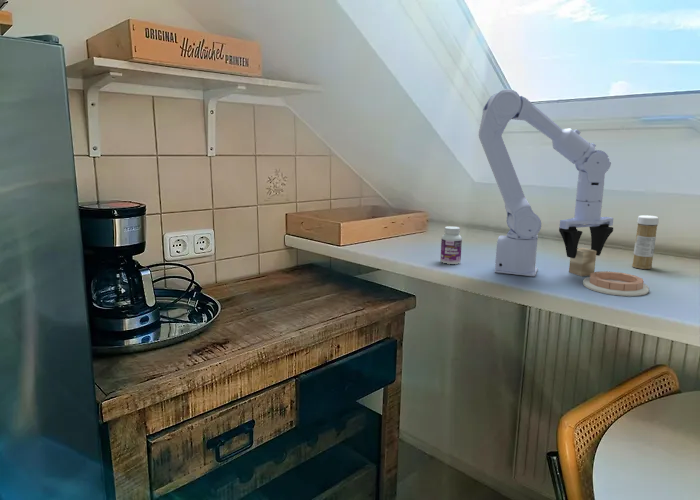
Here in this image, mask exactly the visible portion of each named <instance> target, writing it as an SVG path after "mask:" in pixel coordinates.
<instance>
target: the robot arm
mask: <svg viewBox="0 0 700 500" xmlns="http://www.w3.org/2000/svg"><path fill="white" fill-rule="evenodd" d="M511 120H516V121H525V122H527V124H529V125H530V126H532V127H533V128H535V129H536V130H537V131H539V132H540V133H542V134H543V135H544V136H546V137H547V138H549V139H550V140H551V143H552V148H553V149H554V150H555V151H556V152H558V154H560V155H561V156H563V157H564V158H565V159H567V160H568V161H569V162H570V163H572V164H573V165H574V166H575V169H576V171H578V178H577V185H576V194H575V195H576V197H575V207H574V216H573V217H572V218H565V219H560V220H559V228H558V231H559V234H560V236H561V238H562V240H563V244H564V247H565V253H566V256H567V258H569V259H570V258H575V257H576V254H577V248H579V247H578V245H579V242H580V239H581V237H582V235H583V231H581V230H578V228H589V232H590V240H591V242H590V243H591V244H590V249H591V250H595V251H597V252H596V257H599V256H601V254H602V251H603V248H604V246H605V244H606V242H607V240H608V238H609V236H611V235H612V233H613V232H614V227H612V226H613V225H614V217H610V216H602V207H603V206H602V205H603V199H604V198H603V197H604V189H605V187H604V186H605V176H606V173H607V172H608V171H609V169H610V168H611V165H612V162H611V161H610V158H609V155H608V153H606V152H605V151H604V150H600V149H596V147H597V144H595V143H594V142H591V143H590V142H589V141H588V140H587V139H585V138H584V137H583V136H582V135H580V134H581V132H582V131H580V130H579V129H577V128H576V129H572V128H570V127H569V128H562V127H560V125H558V124H557V123H556V122H555V121H554V120H552V119H551V118H550V117H549V116H548V115H547V114H545V113H544V112H543V111H542V110H541V109H540V108H539V107H537V106H536V105H535V104H534V103H532V102H531V101H530V100H529V99H528V98H526V97H524V96H523V95H520V94H519V93H518V92H517V91H515V90H513V89H510V88H506V89H502V90H499V92H497V93H495V94H493V95H491V96H490V97H489V98H488V99H487V102H486V103H485V105H484V106H483V108H482V116H481V120H480V124H479V125H480V126H479V130H478V138H479V140H480V143H481V146H482V148H483V151H484V154H485V156H486V159H487V161H488V164H489V166H490V169H491V172H492V174H493V176H494V179H495V181H496V182H495V183H496V184H497V187H498V189H499V192H500V195H501V196H502V199H503V202H504V209H505V212H506V225H507V227H508V228H509V230H508V232H507V233H506V235H499V236H498V238H497V241H496V249H495V251H496V252H495V253H496V254H495V261H494V262H495V266H494V267H495V268H494V273H498V274H508V275H509V274H510V275H517V276H525V277H536V274H537V273H538V270H539V267H537V266H536V264H537V263H536V262H537V250H538V249H537V248H538V237H539V235H538V234H539V233H540V231H541V229H542V219H541V218H540V217H539V215H537V213H535V212H534V210H533V209H532V207H531V206H532V205H531V204H530V203H529V201H528V199H527V198H526V196H525V194H524V191H523V188H522V185H521V183H520V180H519V178H518V175H517V173H516V170H515V168H514V164H513V163H512V160H511V158H510V154H509V152H508V149H507V147H506V144H505V142H504V138H503V137H502V136H503V133H504V131H505V129H506V127H507V126H508V124H509V122H510V121H511Z"/></svg>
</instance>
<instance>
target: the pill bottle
mask: <svg viewBox="0 0 700 500" xmlns="http://www.w3.org/2000/svg"><path fill="white" fill-rule="evenodd" d="M460 232H461V228H460V227H459V226H452V225H451V226H449V225H448V226H445V227H444V234H442V236H441V243H440V244H441V245H440V263H442V262H443V263H442V264H444V263H447V264H446V265H450V264H455V265H459V264H460V263H461V260H462V243H463V238H462V235H460ZM458 263H459V264H458Z"/></svg>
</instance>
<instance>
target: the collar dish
mask: <svg viewBox="0 0 700 500" xmlns="http://www.w3.org/2000/svg"><path fill="white" fill-rule="evenodd" d="M582 285H583V286H584V287H585V288H586V289H588V290H591V291H594V292H597V293H600V294H606V295H611V296H619V297H620V296H621V297H639V296H640V297H641V296H645V295H648V294H649V292H650V286H648V285H647V284H646V283H644V279H643V278H642V277H640V276H637V275H634V274H629V273H624V272H619V271H608V270H607V271H605V270H604V271H594V272H593V273H590V275H589V276H587V277H585V278H584V279H583V281H582Z"/></svg>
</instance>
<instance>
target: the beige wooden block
mask: <svg viewBox="0 0 700 500" xmlns="http://www.w3.org/2000/svg"><path fill="white" fill-rule="evenodd" d="M596 252H597V251H595V250H591V248H586V247H577V254H576V257H575V258H570V257H569V266H568V267H569V268H568V273H570V274H573V275H576V276H579V277H586V276H587V277H589V276H590V273H593V272H595V269H596V259H597V255H596Z"/></svg>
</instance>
